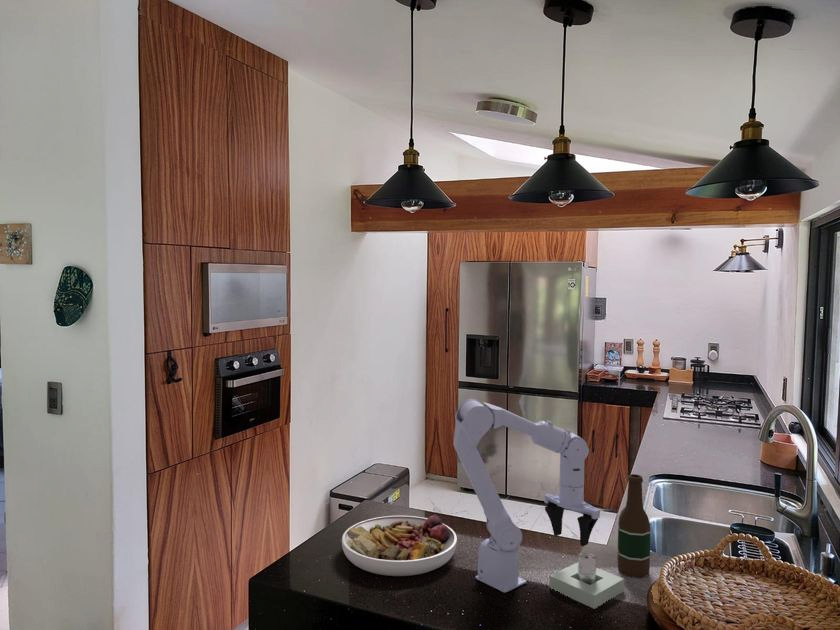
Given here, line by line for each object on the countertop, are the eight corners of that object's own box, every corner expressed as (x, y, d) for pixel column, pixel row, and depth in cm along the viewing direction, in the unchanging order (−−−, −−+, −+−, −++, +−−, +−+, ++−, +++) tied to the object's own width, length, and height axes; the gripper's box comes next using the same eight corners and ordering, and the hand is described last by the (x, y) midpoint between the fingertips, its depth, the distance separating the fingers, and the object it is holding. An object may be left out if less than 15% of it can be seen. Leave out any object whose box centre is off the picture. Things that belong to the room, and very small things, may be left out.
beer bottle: (653, 569, 153) (655, 474, 152) (645, 581, 146) (647, 482, 145) (621, 561, 157) (623, 469, 156) (612, 573, 151) (614, 476, 150)
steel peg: (574, 589, 142) (574, 556, 142) (583, 584, 145) (584, 551, 144) (589, 596, 139) (590, 562, 139) (598, 590, 142) (599, 556, 141)
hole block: (549, 588, 143) (549, 575, 142) (579, 573, 150) (579, 561, 150) (594, 608, 134) (594, 595, 133) (623, 591, 141) (624, 578, 141)
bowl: (389, 594, 140) (389, 561, 139) (319, 551, 162) (320, 522, 162) (480, 558, 159) (481, 528, 159) (407, 524, 182) (407, 498, 182)
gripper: (607, 488, 144) (606, 544, 145) (556, 473, 155) (556, 526, 156) (590, 494, 139) (589, 553, 140) (539, 479, 150) (538, 533, 151)
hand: (570, 539), depth 147 cm, fingers open, 7 cm apart
